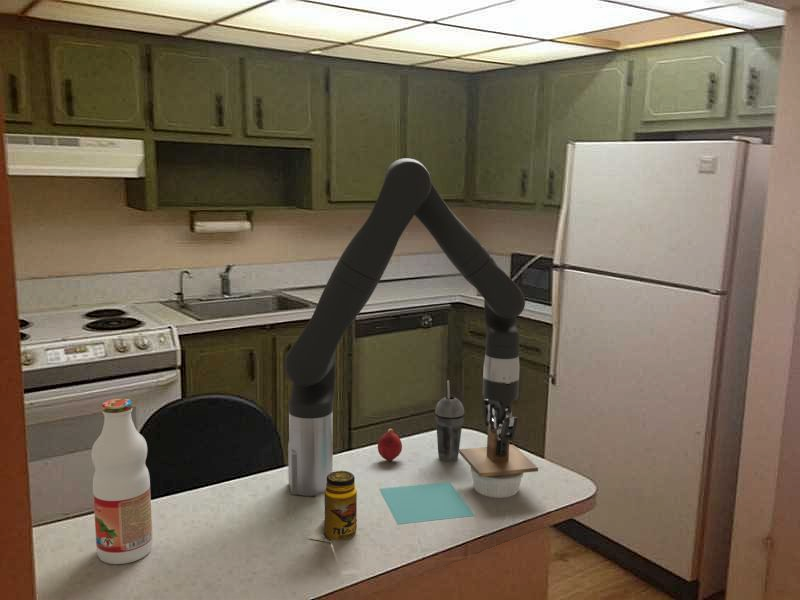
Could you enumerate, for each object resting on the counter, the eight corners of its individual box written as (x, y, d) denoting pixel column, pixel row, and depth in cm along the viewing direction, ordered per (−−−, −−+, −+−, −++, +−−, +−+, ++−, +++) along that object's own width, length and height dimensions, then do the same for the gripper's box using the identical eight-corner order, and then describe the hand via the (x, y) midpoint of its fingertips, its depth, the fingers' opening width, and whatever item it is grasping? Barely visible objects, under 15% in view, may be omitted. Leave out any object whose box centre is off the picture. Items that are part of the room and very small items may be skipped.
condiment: (350, 547, 132) (350, 485, 130) (308, 539, 134) (307, 479, 132) (364, 528, 139) (364, 470, 136) (323, 521, 141) (323, 464, 139)
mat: (397, 526, 139) (397, 524, 139) (379, 490, 155) (379, 488, 155) (475, 517, 143) (475, 515, 143) (449, 484, 159) (449, 481, 159)
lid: (479, 476, 147) (481, 445, 146) (459, 452, 160) (460, 423, 158) (538, 471, 150) (539, 440, 149) (513, 448, 163) (514, 419, 162)
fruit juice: (151, 562, 125) (143, 409, 120) (93, 568, 123) (83, 413, 118) (155, 535, 134) (148, 392, 129) (101, 541, 132) (91, 395, 127)
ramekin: (532, 490, 156) (533, 467, 156) (502, 507, 148) (503, 483, 147) (490, 475, 164) (491, 453, 163) (459, 490, 156) (460, 467, 155)
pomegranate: (399, 467, 167) (399, 434, 166) (374, 464, 168) (375, 432, 167) (403, 457, 173) (404, 426, 171) (380, 455, 174) (380, 424, 172)
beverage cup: (468, 458, 173) (471, 378, 170) (454, 468, 167) (457, 385, 163) (442, 451, 177) (444, 373, 173) (427, 461, 171) (429, 380, 167)
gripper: (472, 367, 157) (469, 441, 160) (497, 386, 144) (493, 467, 147) (504, 365, 159) (501, 439, 162) (531, 384, 146) (527, 464, 149)
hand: (497, 452), depth 155 cm, fingers closed on lid, 3 cm apart
